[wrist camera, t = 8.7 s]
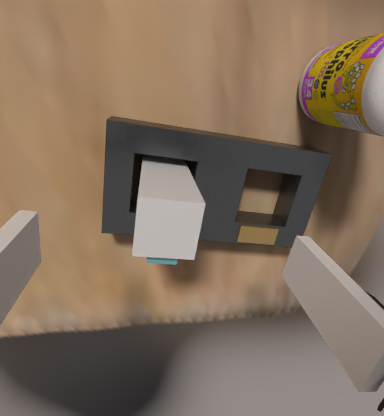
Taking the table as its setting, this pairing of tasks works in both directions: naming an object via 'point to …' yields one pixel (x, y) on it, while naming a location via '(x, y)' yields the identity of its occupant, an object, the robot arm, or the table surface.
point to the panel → (215, 180)
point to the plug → (167, 212)
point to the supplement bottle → (346, 86)
